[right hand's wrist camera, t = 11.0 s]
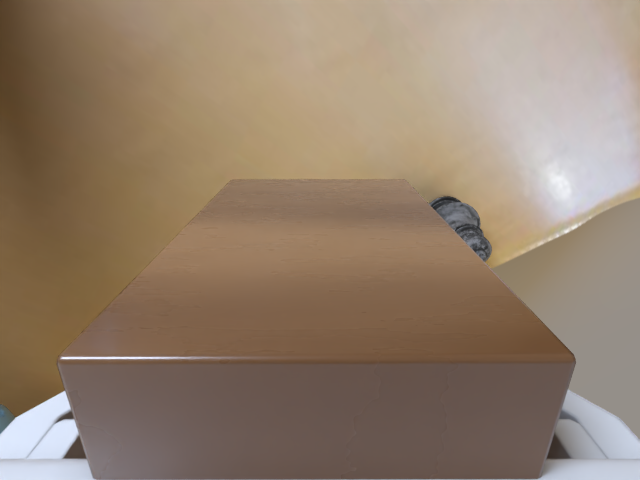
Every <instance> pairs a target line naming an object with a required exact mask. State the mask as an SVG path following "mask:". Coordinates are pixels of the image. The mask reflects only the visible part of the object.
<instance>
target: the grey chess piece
mask: <svg viewBox="0 0 640 480" xmlns="http://www.w3.org/2000/svg"><path fill="white" fill-rule="evenodd" d="M429 205H430V206H431V207H432V208H433V209H434V210H435V211H436V212H437V213H438V214H439V215H440V216H441V217H442V218H443V219H444V220H445V221H446V222H447V223H448V225H449V226H450V227H451V228H452V229H453V230H454V231H455V232H456V233H457V234H458V235H459V236H460V237H461V238H462V239H463V240H464V241H465V242H466V243H467V244H468V245H469V246H470V247H471V248H472V249H473V251H474V252H475V253H476V254H477V255H478V256H479V257H480V258H481V259H482V260H483V261H484V262H485V261H486V260H487V259H488V258H489V257H490V255H491V251H492V248H491V245H490V242H489V241H488V240H487V239H486V238H485V237H484V235H483V232H482V230H481V229H480V218H479V215H478V213H477V212H476V211H475V209H474V208H473V207H471V206H469V205H468V204H465V203H461V202H460V201H459V200H458V199H456V198H453V197H441V198H437V199H436V200H434V201H432V202H431V203H430V204H429Z"/></svg>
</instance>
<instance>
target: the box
mask: <svg viewBox="0 0 640 480" xmlns="http://www.w3.org/2000/svg"><path fill="white" fill-rule="evenodd" d="M575 364H576V361H575V357H574V355H573V353H572V352H571V351H570V350H569V349H568V348H567V347H566V346H565V345H564V344H563V343H562V342H561V341H560V340H559V339H558V338H557V337H556V336H555V335H554V334H553V333H552V332H551V331H550V330H549V328H548V327H547V326H546V325H545V324H544V323H543V322H542V321H541V320H540V319H539V318H538V317H537V316H536V315H535V314H534V313H533V312H532V311H531V310H530V309H529V308H528V307H527V306H526V305H525V304H524V302H523V301H522V300H521V299H520V298H519V297H518V296H517V295H516V294H515V293H514V292H513V291H512V290H511V289H510V288H509V287H508V286H507V285H506V284H505V283H504V282H503V281H502V280H501V279H500V278H499V277H498V275H497V274H496V273H495V272H494V271H493V270H492V269H491V268H490V267H489V266H488V265H487V264H486V263H485V262H484V261H483V260H482V259H481V258H480V257H479V256H478V255H477V254H476V253H475V252H474V251H473V249H472V248H471V247H470V246H469V245H468V244H467V243H466V242H465V241H464V240H463V239H462V238H461V237H460V236H459V235H458V234H457V233H456V232H455V231H454V230H453V229H452V228H451V227H450V226H449V225H448V223H447V222H446V221H445V220H444V219H443V218H442V217H441V216H440V215H439V214H438V213H437V212H436V211H435V210H434V209H433V208H432V207H431V206H430V205H429V204H428V203H427V202H426V201H425V200H424V199H423V197H422V196H421V195H420V194H419V193H418V192H417V191H416V190H415V189H414V188H413V187H412V186H411V185H410V184H409V183H408V182H407V181H406V180H404V179H368V180H231V181H230V182H229V183H228V184H227V185H226V186H225V187H224V188H223V189H222V190H221V191H220V192H219V193H218V194H217V195H216V196H215V197H214V198H213V199H212V200H211V201H210V202H209V203H208V204H207V205H206V206H205V207H204V208H203V209H202V210H201V211H200V212H199V213H198V214H197V215H196V216H195V217H194V218H193V219H192V220H191V221H190V222H189V223H188V224H187V225H186V226H185V227H184V228H183V229H182V230H181V231H180V232H179V234H178V235H177V236H176V237H175V238H174V239H173V240H172V241H171V242H170V243H169V244H168V245H167V246H166V247H165V248H164V249H163V250H162V251H161V252H160V253H159V254H158V255H157V256H156V257H155V258H154V259H153V260H152V261H151V262H150V263H149V264H148V265H147V266H146V267H145V268H144V269H143V270H142V271H141V272H140V273H139V274H138V275H137V276H136V277H135V278H134V279H133V280H132V281H131V282H130V283H129V284H128V285H127V286H126V288H125V289H124V290H123V291H122V292H121V293H120V294H119V295H118V296H117V297H116V298H115V299H114V300H113V301H112V302H111V303H110V304H109V305H108V306H107V307H106V308H105V309H104V310H103V311H102V312H101V313H100V314H99V315H98V316H97V317H96V318H95V319H94V320H93V321H92V322H91V323H90V324H89V325H88V326H87V327H86V328H85V329H84V330H83V331H82V332H81V333H80V334H79V335H78V336H77V337H76V338H75V339H74V341H73V342H72V343H71V344H70V345H69V346H68V347H67V348H66V349H65V350H64V351H63V352H62V353H61V354H60V355H59V356H58V359H57V367H58V370H59V373H60V376H61V379H62V382H63V386H64V389H65V392H66V395H67V398H68V401H69V405H70V408H71V411H72V414H73V417H74V420H75V423H76V427H77V430H78V433H79V436H80V439H81V442H82V446H83V449H84V452H85V455H86V458H87V461H88V465H89V468H90V471H91V474H92V477H93V479H96V480H336V479H539V478H541V475H542V472H543V469H544V465H545V462H546V459H547V456H548V452H549V449H550V446H551V442H552V439H553V436H554V433H555V429H556V426H557V423H558V420H559V416H560V413H561V410H562V407H563V403H564V400H565V397H566V393H567V390H568V387H569V384H570V380H571V377H572V374H573V371H574V367H575Z"/></svg>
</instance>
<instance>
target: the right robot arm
mask: <svg viewBox="0 0 640 480" xmlns="http://www.w3.org/2000/svg"><path fill="white" fill-rule="evenodd" d="M0 480H96V479H93V477H92V474H91V471H90V468H89V465H88V461H87V458H86V455H85V452H84V449H83V446H82V442H81V439H80V436H79V433H78V430H77V427H76V423H75V420H74V417H73V414H72V411H71V408H70V405H69V401H68V398H67V395H66V392H65V391H63V392H62V393H60V394H58V395H56V396H54V397H52V398H51V399H49V400H47V401H45V402H43V403H41V404H40V405H38V406H36V407H34V408H32V409H30V410H29V411H27V412H25V413H23V414H21V415H20V416H18V417H16V418H15V419H14V420H13V421H12V422H11V423H10V424H9V425H8V426H7V428H6V429H5V430H4V431H3V432H2V433H1V434H0ZM336 480H640V440H639V439H638V438H637V436H636V435H635V434H634V433H633V432H632V431H631V430H630V429H629V428H628V427H627V425H626V424H625V423H624V422H623V421H622V420H621V419H620V418H619V417H617V416H615V415H613V414H611V413H610V412H608V411H606V410H604V409H602V408H601V407H599V406H597V405H595V404H593V403H592V402H590V401H588V400H586V399H584V398H583V397H581V396H579V395H577V394H575V393H574V392H572V391H570V390H567V393H566V397H565V400H564V403H563V407H562V410H561V413H560V416H559V420H558V423H557V426H556V429H555V433H554V436H553V439H552V442H551V446H550V449H549V452H548V456H547V459H546V462H545V465H544V469H543V472H542V475H541V478H539V479H336Z"/></svg>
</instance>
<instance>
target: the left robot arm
mask: <svg viewBox="0 0 640 480" xmlns="http://www.w3.org/2000/svg"><path fill="white" fill-rule="evenodd" d="M15 418H16V417H15V416H14V415H13V414H12V413H11V412H10V411H9V409H8V408H7V407H5V406H4V405H2V404H0V434H1V433H2V432H3V431H4V430H5V429H6V428H7V426H8V425H9V424H10V423H11V422H12V421H13V420H14V419H15Z"/></svg>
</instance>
